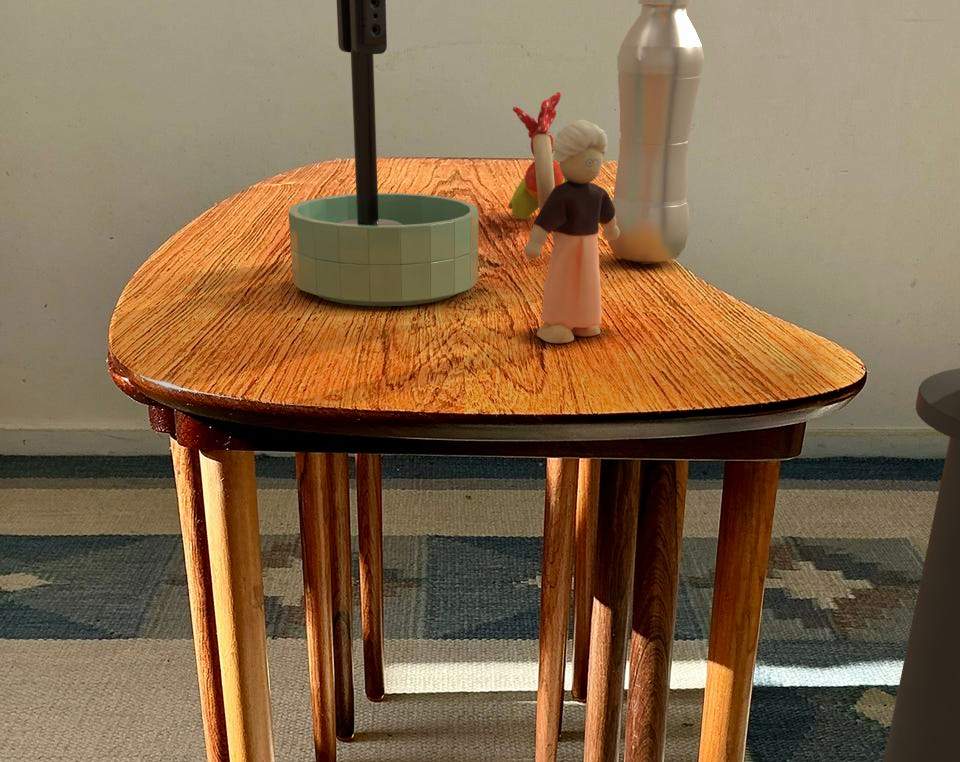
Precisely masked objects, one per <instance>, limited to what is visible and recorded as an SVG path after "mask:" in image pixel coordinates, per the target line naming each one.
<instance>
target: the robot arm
mask: <svg viewBox="0 0 960 762" xmlns="http://www.w3.org/2000/svg"><path fill="white" fill-rule="evenodd" d="M386 1H387V0H350V9H351V35H352V49H353V51H354V52H355V53H357V54H373V55H382V54H384V53H385V52H386V50H387V48H388V41H387V39H388V36H387V34H388V33H387V3H386ZM336 18H337V42H338V43H337V44H338V47H339V50H340V51H341V52H344V53H349V54H351V50H350V25H349V0H336Z"/></svg>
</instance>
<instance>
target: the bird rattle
mask: <svg viewBox="0 0 960 762" xmlns="http://www.w3.org/2000/svg"><path fill="white" fill-rule="evenodd" d="M562 97H563V96H562V93H561V92H560V91H558V92H556V93H554V94H553V95H551V96H550V97H548V99H545V100H543V101H542V102H541V106H540V108H539V112H538V116H537V120H536V119H535V118H534V117H533V116H531V115H530V114H528V113H526V112H525V111H524V110H523V109H521V108H520V107H517V106H513V107H512V111H513V113H515V114H516V115H517V117H518V119H519V121H521V123H522V124H524V126H525V128H526V130H527V131H528V138H529V139H530V151H531V153H532V156H533V158H534V159H533V162H532V163H531V164H530V165H529V166H528V167H527V169H526V171H525V175H524V177H523V178H522V180H521V182H519V184H518V186H517V187H516V189H515V191H514V193H513V195H512V197H511V199H510V201H509V203H508V206H507V207H508V209H510V210H511V212H512V213H511V214H512V216H513V217H514V218H515V220H519V221H525V220H527V219H528V218H530V216H531V215H532V214H534V213H535V212H536V211H537V210H538V211H539V212H540V211H541V209H542V207H543V206H544V204H545V202H546V200H547V199H548V197H549V195H550V194H551V192H552V191H553V189H554V188H555V186H558V185H560V184H562V183H564V182H566V181H567V179H566V178H565V177H564V176H563V174H562V172H561V170H560V165H559V162H557V161H556V160H555V159H553V154H554V152H555V151H554V150H553V143H554V141H555V139H554V136H553V134H552V133H551V132H550V131H549V128H550V127H551V125H552V124H553V122H554V120H555V118H556V116H557V110H556V109H555V108H556V107H557V106H558V104H559V102H560V101H561V98H562ZM539 212H538V213H539Z"/></svg>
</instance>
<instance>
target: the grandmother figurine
mask: <svg viewBox="0 0 960 762" xmlns="http://www.w3.org/2000/svg"><path fill="white" fill-rule="evenodd" d="M608 144H609V140H608V136H607V134H606V133H605V130H604V129H602V128H600V127H599V126H598V125H597V124H595V123H593V122H590V121H588V120H587V119H579V120H575V121H574V122H571V123H568V124H567V125H566V126H564V127H563V128H562V129H561V130H559V131H557V133H556V137H555V139H554V143H553V150H554V151H553V160H554V161H556V162H557V163H558V164H559V165H560V170H561V172H562V174H563V176H564V177H565V178H566V179H567V181H566V182H564V183H562V184H560V185H558V186H555V188H554V189H553V191H552V192H551V194H550V195H549V197H548V199H547V200H546V202H545V204H544V206H543V207H542V209H541V211H540V212H538V215H537V216H536V217H535V220H534V222H533V226H532V229H531V232H530V234H529V241H528V242H527V243H526V245H525V246H524V254H525V256H526V257H527V258H529V259H537V258H539V257H540V256H541V253H542V251H543V246H544V245H545V244H546V242H547V240H548V238H549V235H550V234H551V233H552V243H553V244H552V248H551V251H550V257H549V260H548V266H547V270H546V274H545V277H544V283H543V295H542V309H541V317H540V319H541V322H543V323H544V324H543V325H541V326H540V327H539V328H538V330H537V332H536V337H538V338H539V339H541V340H542V341H544V342H547V343H551V344H566V343H572V342H573V341H574V340H575V336H577V337H584V338H585V337H586V338H587V337H593V336H597V335H600V334H601V328H600V325H602V315H603V314H602V309H603V308H602V306H603V305H602V287H601V285H602V284H601V274H600V254H599V241H598V238H599V237H598V236H599V230H600V229H599V228H600V227H601V229H602V234H603V238H604V239H605V240H606V241H607V242H608V241H613V240H616V239H617V238H618V237H619V234H620V231H619V228H618V227H617V225H616V217H615V208H614V205H613V203H612V199H611V197H610V195H609V193H608V191H607V190H606V189H605V188H604V187H601V186H599V185H598V184H596V183H593V181H594V180H595V179H597V177H599V174H600V172H601V171H602V167H603V158H604V157H605V154H606V153H607V151H608ZM599 225H600V227H599Z"/></svg>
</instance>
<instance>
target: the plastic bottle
mask: <svg viewBox="0 0 960 762" xmlns="http://www.w3.org/2000/svg"><path fill="white" fill-rule="evenodd" d="M637 4H638V5H641V10H640V14H639V16H638V17H637V18H636V20H635V21H634V22H633V24H632V26H631V27H630V28H629V30H628V31H627V33H626V35H625V37H624V38H623V40H622V42H621V43H620V47H619V50H618V53H617V55H616V56H617V58H616V62H617V64H616V68H617V72H618V74H617V85H618V99H619V100H618V101H619V133H620V138H619V150H618V151H619V152H618V159H617V166H616V167H617V168H616V175H615V182H614V189H613V198H612V199H611V201H612V203H613V205H614V208H615V217H616V225H617V227H618V228H619V231H620V234H619V237H618V238H617V239H616V240H613V241H608V240H607V244H608V247H609V248H610V250H611V252H612V255H614V256H615V257H617V258H620V259H624V260H628V261H630V262H635V263H639V264H645V265H646V264H647V265H648V264H653V263H654V264H655V263H661V262H665V261H671V260H675V259H677V258H678V257H680V255H681V254H682V252H683V251H684V249H685V248H686V244H687V241H688V236H689V233H690V232H689V231H690V209H689V202H688V199H687V197H688V155H689V153H688V152H689V146H690V140H689V139H690V135H691V132H692V124H693V115H694V109H695V105H696V101H697V96H698V92H699V86H700V82H701V77H702V76H701V73H702V72H703V66H704V60H705V56H704V51H703V44H702V42H701V40H700V37H699V36H698V34H697V31H696V29H695V27H694V25H693V24H692V22H691V20H690V19H689V16H688V15H687V14H688V13H687V6H688V5H691V4H692V0H637Z"/></svg>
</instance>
